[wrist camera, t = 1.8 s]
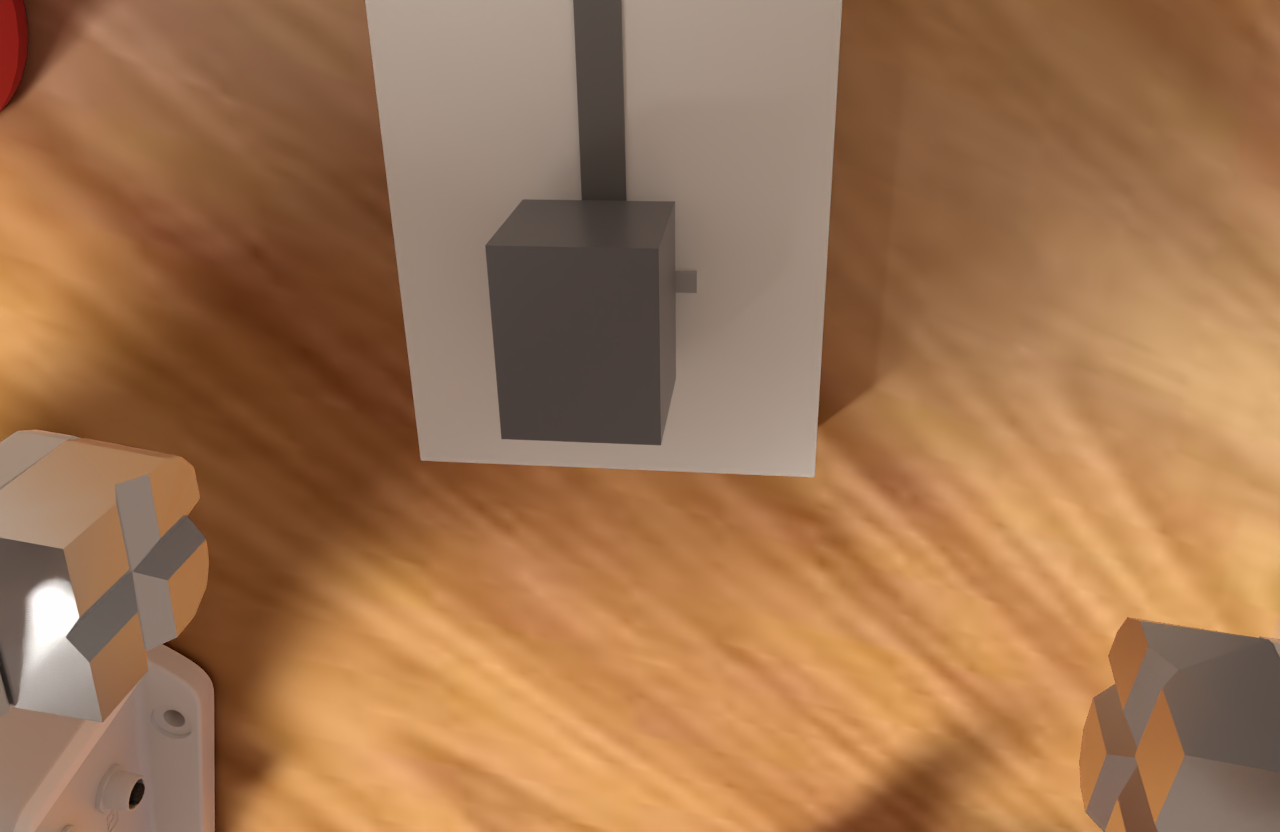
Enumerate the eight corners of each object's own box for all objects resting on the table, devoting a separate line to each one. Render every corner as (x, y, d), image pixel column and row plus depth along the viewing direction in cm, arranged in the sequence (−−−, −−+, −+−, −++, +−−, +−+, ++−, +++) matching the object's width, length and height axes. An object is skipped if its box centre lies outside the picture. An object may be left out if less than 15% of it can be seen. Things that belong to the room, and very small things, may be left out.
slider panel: (812, 431, 35) (814, 479, 32) (447, 417, 37) (420, 462, 34) (860, -416, 25) (868, -451, 23) (361, -390, 27) (312, -420, 24)
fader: (677, 369, 31) (660, 445, 27) (538, 365, 32) (501, 439, 27) (677, 195, 29) (658, 248, 25) (527, 193, 29) (485, 245, 25)
